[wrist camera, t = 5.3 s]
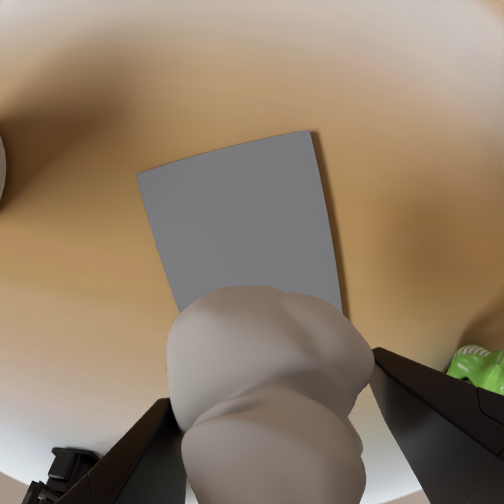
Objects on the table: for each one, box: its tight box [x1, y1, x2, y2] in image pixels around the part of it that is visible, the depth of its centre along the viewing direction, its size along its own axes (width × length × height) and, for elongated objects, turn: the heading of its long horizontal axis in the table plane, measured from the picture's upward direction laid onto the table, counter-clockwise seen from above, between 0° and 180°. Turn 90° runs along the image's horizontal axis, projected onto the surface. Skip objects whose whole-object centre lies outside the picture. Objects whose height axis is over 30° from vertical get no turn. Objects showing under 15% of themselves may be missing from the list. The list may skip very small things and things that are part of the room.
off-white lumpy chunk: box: [166, 285, 375, 504], centre depth 6 cm, size 5×7×8 cm
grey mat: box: [136, 130, 343, 314], centre depth 18 cm, size 14×10×1 cm
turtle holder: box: [446, 345, 504, 395], centre depth 17 cm, size 12×18×12 cm
